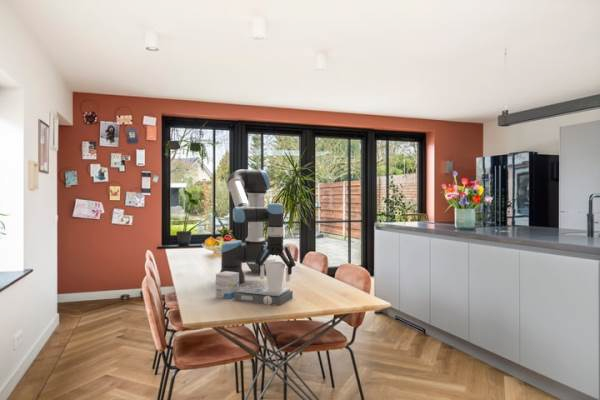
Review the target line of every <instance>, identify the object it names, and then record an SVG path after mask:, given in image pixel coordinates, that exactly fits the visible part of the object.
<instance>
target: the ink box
mask: <svg viewBox="0 0 600 400" xmlns="http://www.w3.org/2000/svg"><path fill="white" fill-rule="evenodd" d="M237 289H240V283H239V272H229V271H224V272H218V273H216V274H215V298H221V299H228V300H230V299H232V298H233V299H234V293H235V292H237Z"/></svg>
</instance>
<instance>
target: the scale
mask: <svg viewBox="0 0 600 400" xmlns="http://www.w3.org/2000/svg"><path fill="white" fill-rule="evenodd" d="M293 293H294V292H293V290H289V291H288V292H286V293H284V294H282V295H280V296H271V295H262V294H253V293H244V292H235V293H234V297H233V300H234V301H237V302H238V301H239V302H246V303H247V302H248V303H254V304H263V305H268V306H269V305H272V306H278V307H279V306H281V305H284V304H285V303H287V302H289V301H290V300H292V299H293Z"/></svg>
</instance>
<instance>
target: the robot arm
mask: <svg viewBox="0 0 600 400" xmlns="http://www.w3.org/2000/svg"><path fill="white" fill-rule="evenodd" d="M270 186H271V182H270V175H269V173H268V171H266V170H263V169H244V168H243V169H237V170H235V171H233V172H232V173H231V174H229V176H228V177H227V180H226V188H227V190H228V192H230V195H231V198H232V201H233V204H234V207H233V209H232V220H233V222H235V223H241V224H242V223H248V226H247V227H248V230H247V237H246V238H245V241H244V242H243V241H242V240H239V239H237V240H229V241H226V242H223V243H222V244H221V250H220V253H221V255H220V256H221V259H220V260H221V264H220V265H221V267H220V272H224V271H229V272H239V284H241V283H244V282H245V281H246V279H245V274H244V271H243V264H244V263H245V264H246V263H250V262H255V264H258V265H259V272H260V274H259V275H260V276H259V277H260V278H259V279H260V280H264V279H265V273H264V265H263V263H264V262H265V261H266V260H267V258H268V257H269V256H279V257H280V258H281V260H282V262H284V263H285V266H287V267H285V277H286V278H285V282H286V283H288V282H291V275H292V273H293V272H292V270H293V269H292V268H293V267H295V266H296V262H295V260H294V258H293V256H292V255H293V254H292V253H291V250H290V246H288V245H287V246H284V236H283V235H284V204H283V203H277V202H275V203H271V202H270V203H268V204H267V206H265V205H264V201H265V199H264V196H265V195H267V191H269V190H270V188H271V187H270ZM264 223H267V238H265V237H264ZM266 239H267V240H266ZM284 252H285V253H284ZM220 272H219V273H220Z"/></svg>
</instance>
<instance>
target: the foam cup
mask: <svg viewBox="0 0 600 400" xmlns="http://www.w3.org/2000/svg"><path fill="white" fill-rule="evenodd" d="M265 269H266V273H265V275H266V283H267V286H268V291H272V292H278V291H281V289H282V287H283V280H284V275H285V269H286V264H285V263H284V261H276V260H275V261H272V262H266V263H265Z"/></svg>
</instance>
